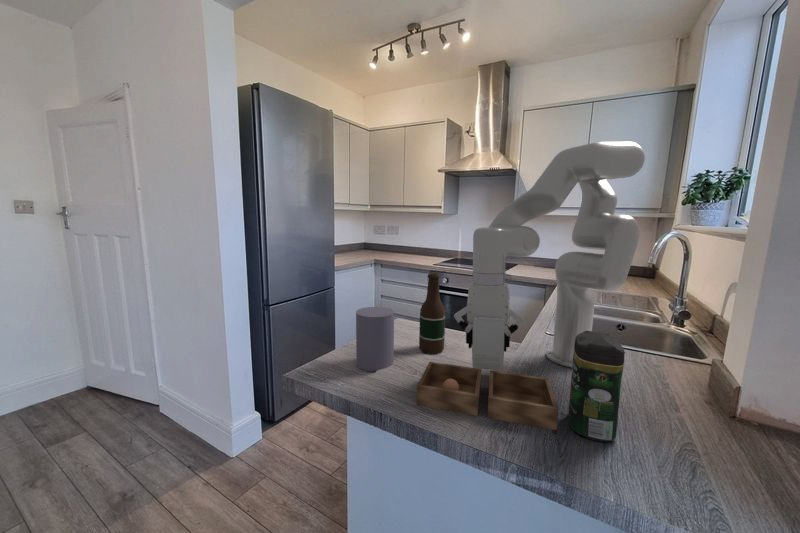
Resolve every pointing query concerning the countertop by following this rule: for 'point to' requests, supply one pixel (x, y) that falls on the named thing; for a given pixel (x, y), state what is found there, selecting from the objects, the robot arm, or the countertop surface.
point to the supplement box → (488, 343)
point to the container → (374, 338)
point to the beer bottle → (432, 319)
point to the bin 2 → (522, 400)
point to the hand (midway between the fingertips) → (487, 347)
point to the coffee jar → (596, 385)
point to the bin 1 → (446, 399)
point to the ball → (451, 384)
